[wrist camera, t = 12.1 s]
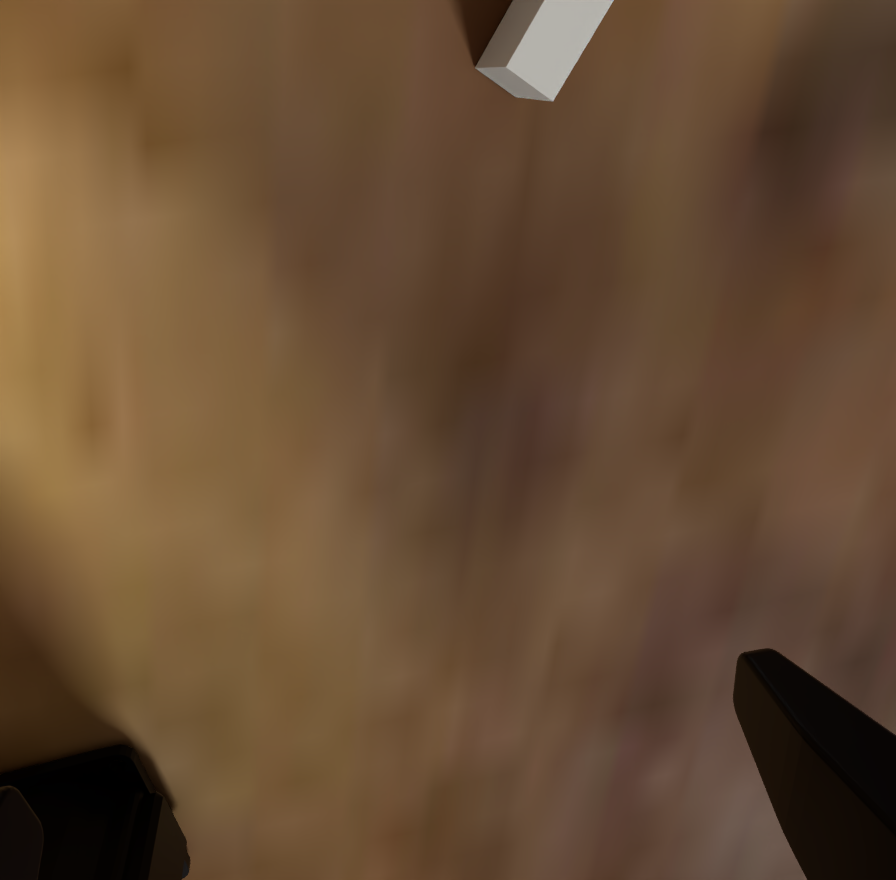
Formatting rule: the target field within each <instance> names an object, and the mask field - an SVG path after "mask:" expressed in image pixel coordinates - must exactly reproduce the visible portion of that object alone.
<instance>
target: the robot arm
mask: <svg viewBox="0 0 896 880" xmlns="http://www.w3.org/2000/svg"><path fill="white" fill-rule="evenodd" d="M733 702H734V708H735V711H736V714H737V717H738V720H739V722H740V725H741V727H742V730H743V732H744V735H745V738H746V740H747V743H748V745H749V748H750V750H751V753H752V755H753V758H754V760H755V763H756V765H757V768H758V770H759V773H760V776H761V778H762V781H763V783H764V786H765V788H766V791H767V793H768V796H769V798H770V801H771V803H772V806H773V808H774V811H775V813H776V816H777V818H778V821H779V823H780V825H781V828H782V830H783V833H784V835H785V837H786V839H787V841H788V843H789V845H790V847H791V849H792V851H793V853H794V855H795V857H796V859H797V861H798V863H799V865H800V867H801V868H802V870H803V872H804V874H805V876H806V878H807V880H896V735H895V734H893V733H892V732H890V731H889V730H887V729H886V728H885V727H883V726H882V725H880V724H879V723H878V722H876V721H875V720H873V719H872V718H871V717H869V716H868V715H866V714H865V713H864V712H862V711H861V710H859V709H858V708H856V707H855V706H854V705H852V704H851V703H849V702H848V701H847V700H845V699H844V698H842V697H841V696H840V695H838V694H837V693H835V692H834V691H833V690H831V689H830V688H828V687H827V686H825V685H824V684H823V683H821V682H820V681H818V680H817V679H816V678H814V677H813V676H811V675H810V674H809V673H807V672H806V671H804V670H803V669H802V668H800V667H799V666H797V665H796V664H794V663H793V662H792V661H790V660H789V659H787V658H786V657H785V656H783V655H782V654H780V653H779V652H777V651H775V650H773V649H769V648H765V649H759V650H754V651H748V652H744V653H741V654H740V656H739V657H738V660H737V666H736V674H735V683H734V692H733ZM115 760H121V761H122V762H118V761H115ZM186 845H187V841H186V838H185V836H184V835H183V833H182V831H181V829H180V827H179V825H178V823H177V821H176V819H175V817H174V815H173V813H172V811H171V809H170V807H169V805H168V803H167V801H166V799H165V797H164V796H163V795H161V794H160V793H159V792H156V790H155V788H154V786H153V784H152V782H151V780H150V778H149V776H148V774H147V773H146V771H145V769H144V767H143V765H142V763H141V761H140V759H139V757H138V755H137V753H136V751H135V750H134V749H133V748H131V747H129V746H127V745H114V746H110V747H106V748H103V749H99V750H95V751H91V752H87V753H83V754H79V755H75V756H71V757H68V758H64V759H60V760H56V761H52V762H48V763H44V764H40V765H37V766H33V767H29V768H25V769H21V770H17V771H13V772H9V773H5V774H2V775H0V880H182V879H183V878H184V877H186V876H187V875H188V873H189V868H190V857H189V855H188V853H187V851H186Z"/></svg>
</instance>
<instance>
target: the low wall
mask: <svg viewBox="0 0 896 880" xmlns="http://www.w3.org/2000/svg"><path fill="white" fill-rule="evenodd" d="M613 1H614V0H513V1H512V3H511V5H510V6H509V8H508V10H507V12H506V13H505V15H504V17H503V19H502V21H501V22H500V24H499V26H498V28H497V29H496V31H495V33H494V35H493V37H492V38H491V40H490V42H489V44H488V45H487V47H486V49H485V51H484V53H483V54H482V56H481V58H480V60H479V61H478V63H477V65H476V67H475V68H476V69H477V70H479V71H480V72H481V73H483V74H484V75H486V76H487V77H488V78H490V79H491V80H493V81H494V82H495V83H497V84H498V85H500V86H501V87H502V88H504V89H505V90H506V91H508V92H509V93H511V94H512V95H513V96H515V97H519V98H528V99H536V100H545V101H553V100H554V99H555V97H556V95H557V94H558V92H559V90H560V89H561V87H562V85H563V84H564V82H565V80H566V79H567V77H568V75H569V74H570V72H571V70H572V69H573V67H574V65H575V64H576V62H577V60H578V59H579V57H580V55H581V54H582V52H583V50H584V49H585V47H586V45H587V44H588V42H589V40H590V39H591V37H592V35H593V34H594V32H595V30H596V29H597V27H598V25H599V24H600V22H601V21H602V19H603V17H604V16H605V14H606V12H607V11H608V9H609V7H610V6H611V4H612V2H613Z"/></svg>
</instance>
